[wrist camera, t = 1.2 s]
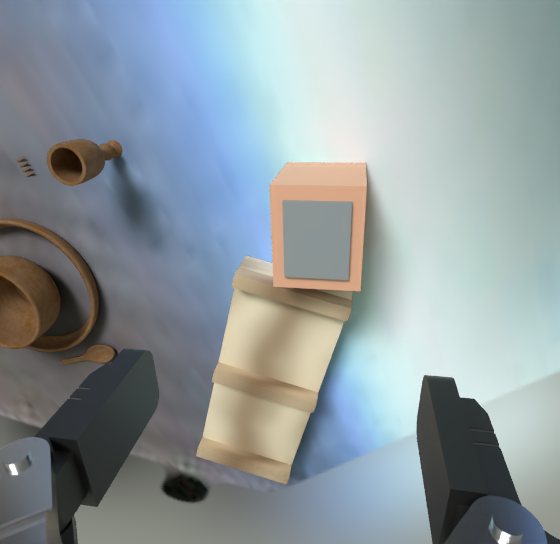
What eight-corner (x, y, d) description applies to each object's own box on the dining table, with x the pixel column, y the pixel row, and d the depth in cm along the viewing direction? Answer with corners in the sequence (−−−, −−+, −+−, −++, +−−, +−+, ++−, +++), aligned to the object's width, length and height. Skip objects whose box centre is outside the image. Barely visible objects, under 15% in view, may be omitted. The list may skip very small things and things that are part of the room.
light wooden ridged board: (352, 286, 31) (351, 309, 28) (292, 454, 39) (286, 484, 36) (246, 255, 31) (234, 274, 28) (208, 427, 39) (196, 456, 36)
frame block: (365, 162, 27) (367, 187, 21) (360, 250, 29) (360, 293, 24) (287, 162, 28) (268, 185, 22) (289, 248, 30) (272, 288, 25)
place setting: (-78, 206, 35) (-156, 230, 29) (120, 112, 29) (66, 122, 23) (43, 374, 41) (-4, 419, 35) (227, 326, 35) (203, 372, 29)
